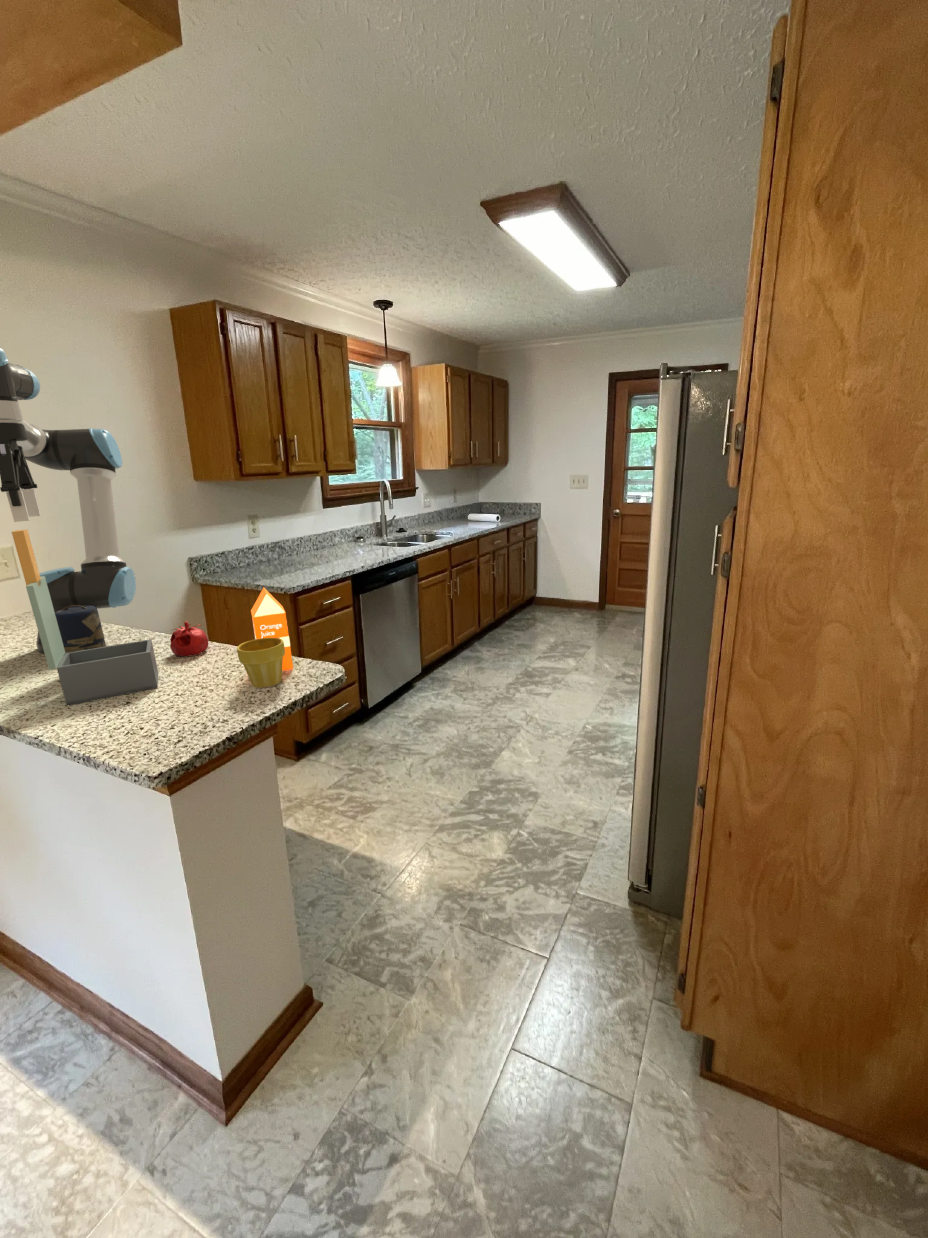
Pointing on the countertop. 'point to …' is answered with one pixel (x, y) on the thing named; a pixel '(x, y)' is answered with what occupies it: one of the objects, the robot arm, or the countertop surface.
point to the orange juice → (271, 623)
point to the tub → (108, 671)
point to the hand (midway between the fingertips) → (28, 518)
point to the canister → (80, 628)
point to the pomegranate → (188, 641)
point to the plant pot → (262, 660)
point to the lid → (39, 600)
